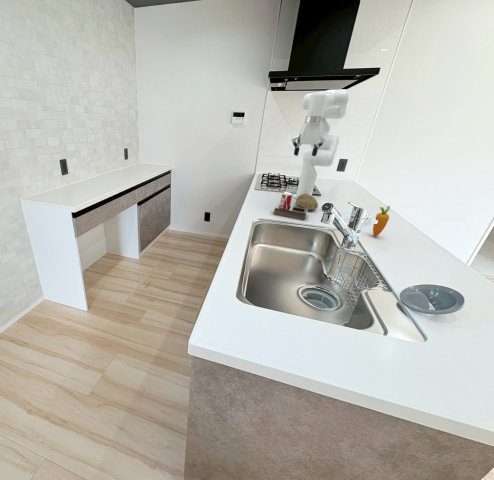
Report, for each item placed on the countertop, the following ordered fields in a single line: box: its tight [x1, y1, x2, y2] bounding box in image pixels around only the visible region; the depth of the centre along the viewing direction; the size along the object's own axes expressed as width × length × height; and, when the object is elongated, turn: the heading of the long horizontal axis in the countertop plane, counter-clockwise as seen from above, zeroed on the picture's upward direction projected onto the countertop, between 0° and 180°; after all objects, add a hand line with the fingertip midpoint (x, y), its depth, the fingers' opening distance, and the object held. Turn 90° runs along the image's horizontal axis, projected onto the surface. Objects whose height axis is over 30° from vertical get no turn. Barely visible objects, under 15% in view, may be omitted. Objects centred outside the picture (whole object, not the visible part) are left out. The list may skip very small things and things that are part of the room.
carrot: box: [372, 205, 391, 237], centre depth 118 cm, size 5×5×15 cm
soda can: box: [279, 191, 293, 209], centre depth 144 cm, size 5×5×12 cm
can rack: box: [273, 203, 309, 221], centre depth 144 cm, size 9×16×4 cm, turn 59°
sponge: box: [295, 194, 319, 211], centre depth 157 cm, size 13×8×20 cm
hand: (304, 155), depth 139 cm, fingers open, 9 cm apart
